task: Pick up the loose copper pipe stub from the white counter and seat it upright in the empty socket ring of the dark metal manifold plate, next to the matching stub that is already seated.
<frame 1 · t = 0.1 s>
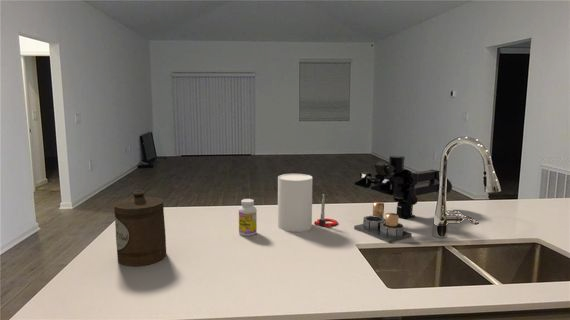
hand: (362, 185, 158), 17 cm above the worktop, tool horizontal, fingers open, 9 cm apart
manifold: (382, 232, 153), on the worktop
supplement bottle: (247, 234, 151), on the worktop
pipe stub: (377, 219, 170), on the worktop
wooden container: (142, 257, 129), on the worktop
canister: (294, 226, 160), on the worktop
tow hook: (326, 224, 164), on the worktop
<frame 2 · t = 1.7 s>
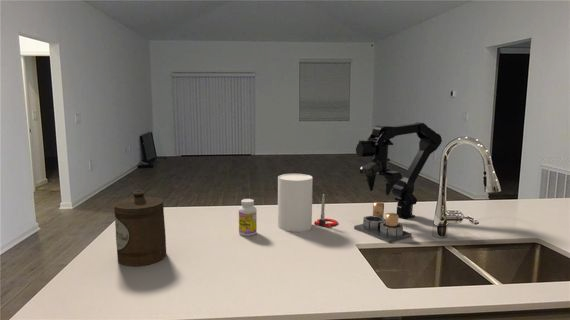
hand: (379, 192, 168), 11 cm above the worktop, tool pointing down, fingers open, 9 cm apart
nothing on the worktop moved.
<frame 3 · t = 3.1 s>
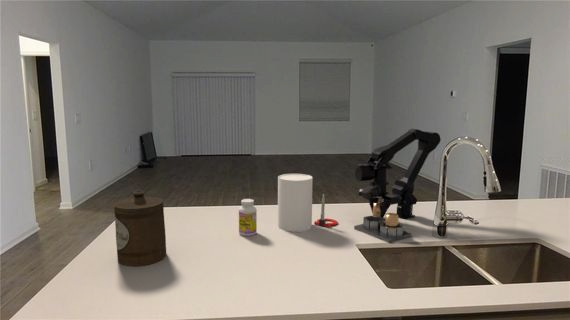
hand: (378, 215, 170), 2 cm above the worktop, tool pointing down, fingers closed on pipe stub, 4 cm apart
pipe stub: (377, 219, 170), on the worktop, touching gripper
everything else where it was.
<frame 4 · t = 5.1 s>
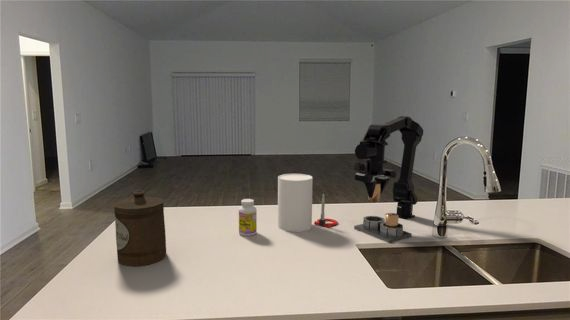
hand: (374, 196, 157), 13 cm above the worktop, tool pointing down, fingers closed on pipe stub, 4 cm apart
pipe stub: (374, 200, 157), point 11 cm above the worktop, touching gripper
everything else where it was.
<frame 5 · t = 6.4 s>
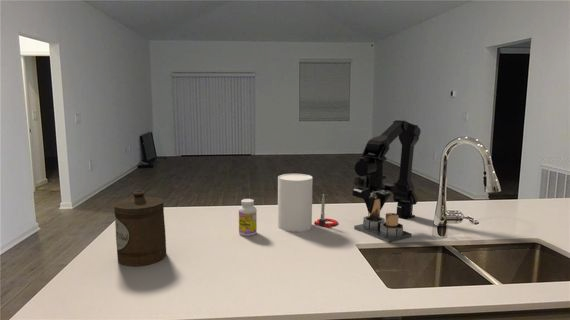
hand: (374, 212, 156), 7 cm above the worktop, tool pointing down, fingers closed on pipe stub, 4 cm apart
pipe stub: (374, 215, 156), point 5 cm above the worktop, touching gripper
everything else where it was.
when the fingers open (5 cm above the worktop, at t = 7.2 s): pipe stub drops 3 cm, resting on manifold.
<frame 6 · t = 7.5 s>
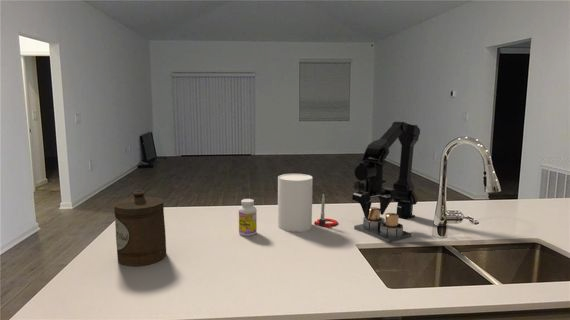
hand: (374, 216, 156), 5 cm above the worktop, tool pointing down, fingers open, 8 cm apart
pipe stub: (373, 226, 157), point 1 cm above the worktop, touching manifold
everything else where it was.
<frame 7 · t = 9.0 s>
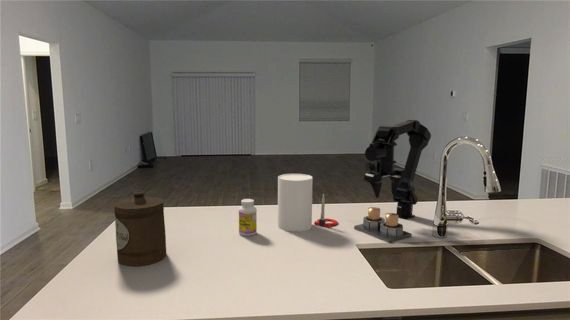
hand: (385, 195, 162), 12 cm above the worktop, tool pointing down, fingers open, 9 cm apart
nothing on the worktop moved.
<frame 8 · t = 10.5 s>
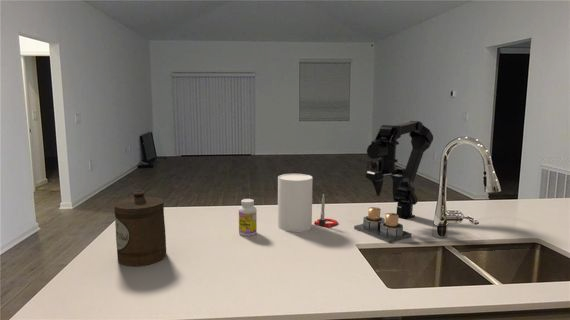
hand: (386, 194, 163), 12 cm above the worktop, tool pointing down, fingers open, 9 cm apart
nothing on the worktop moved.
at the end: pipe stub 0.1 cm from the target spot on the manifold, point 1.2 cm above the manifold's base; pipe stub tilted 1°; the gripper is holding nothing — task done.
